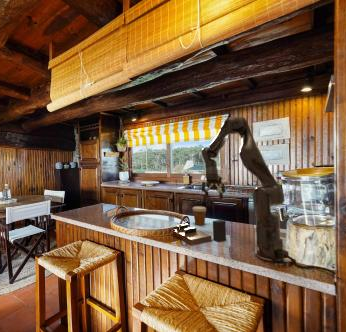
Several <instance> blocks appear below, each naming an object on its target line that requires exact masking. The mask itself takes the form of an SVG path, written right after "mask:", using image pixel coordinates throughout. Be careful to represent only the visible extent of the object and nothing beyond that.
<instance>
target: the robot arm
mask: <svg viewBox="0 0 346 332" xmlns="http://www.w3.org/2000/svg"><path fill="white" fill-rule="evenodd" d="M237 134H238V135H239V137H240V140H241V145H240V148H239V153H238V155H239V158H240V161H241V163H242V165H243V167H244V168H245V169H246V170H247V171H248V172H249V173H251V174H252V175H253V176H254V177H255V178H256V179H257V180H258V181H259V183H260V184H261V186H257V187H255V189H254V190H253V192H252V205H253V213H254V216H255V233H256V234H255V236H256V241H255V243H256V244H255V249H256V257H257V258H259V259H261V260H263V261H266V262H271V263H274V264H275V263H278V262H282V261H284V259H289V260H290V261H291V262H292V264H293V265H294V266H296V267H298V268H301V269H318V270H323V271H325V272H326V271H327V272H329V273H331V274H333V275H334V276H335V271H334V270H333V269H331V268H326V267H323V266H318V265H313V264H312V265H311V264H310V265H309V264H308V265H303V264H299V263H297V262H296V260H295V259H294V258H293V257H291V256H290V255H289V251H287V250H285V249H284V240H283V239H282V238H281V217H280V215H279V214H276V213H273V212H272V211H271V207H278V206H282V205H283V204H284V202H285V195H284V192H283V190H282V188H281V186H280V185H279V183H278V182H277V180H276V179H275V177H274V176H273V174H272V172H271V170H270V168H269V167H268V165H267V164H266V161H265V158H264V157H263V154H262V152H261V151H260V148H259V146H258V145H257V142H256V141H255V138H254V135H253V133H252V130H251V128H250V125H249V122H248V120H247V119H246V118H245V117H243V116H232V117H231V116H229V117H228V118H226V119H225V120H224V121H223V123H222V125H221V127H220V129H219V131H218V132H217V134H216V136H215V137H214V139H213V140H212V141H211V143H210V144H209V147H203V148H202V149H201V156H202V159H203V161H204V165H205V166H204V167H205V181H206V182H205V181H203V182H201V192H202V193H204V198H206V199H209V197H210V196H209V191H210V190H211V191H216V192H218V197H219V200H220V201H221V200H223V199H224V194H225V193H226V187H225V183H220V180H219V171H218V165H217V161H216V159H215V158H217V157H218V156H219V153H220V151H221V150H222V148H224V146H225V145H226V137H227V136H229V135H237Z"/></svg>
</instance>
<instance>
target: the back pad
mask: <svg viewBox="0 0 346 332" xmlns="http://www.w3.org/2000/svg"><path fill="white" fill-rule="evenodd" d="M212 240H213V241H215V242H216V243H219V242H223V241H227V225H226V220H223V219H217V220H212Z"/></svg>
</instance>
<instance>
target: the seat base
mask: <svg viewBox="0 0 346 332" xmlns="http://www.w3.org/2000/svg"><path fill="white" fill-rule="evenodd" d="M179 225H181V227H180V230H179ZM179 225H176V226H175V227H176V229H174V230H175V231H174V233H173V232H172V236H174V237H175V238H177V239H179V240H181V241H183V242H185V243H187V244H189V245H190V246H194V245H195V246H196V245H198V244H199V245H200V244H204V243H208V242H212V235H211V234H208V233H206V232H203V231H201V230H198V229H197V227H195V226H194V227H192V226H189V224H188V223H185V224H179Z"/></svg>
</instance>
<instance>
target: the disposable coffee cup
mask: <svg viewBox="0 0 346 332" xmlns="http://www.w3.org/2000/svg"><path fill="white" fill-rule="evenodd" d="M192 212H193V218H194V224H195V225H197V226H205V223H206V212H207V208H206V206H201V205H195V206H193V207H192Z"/></svg>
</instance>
